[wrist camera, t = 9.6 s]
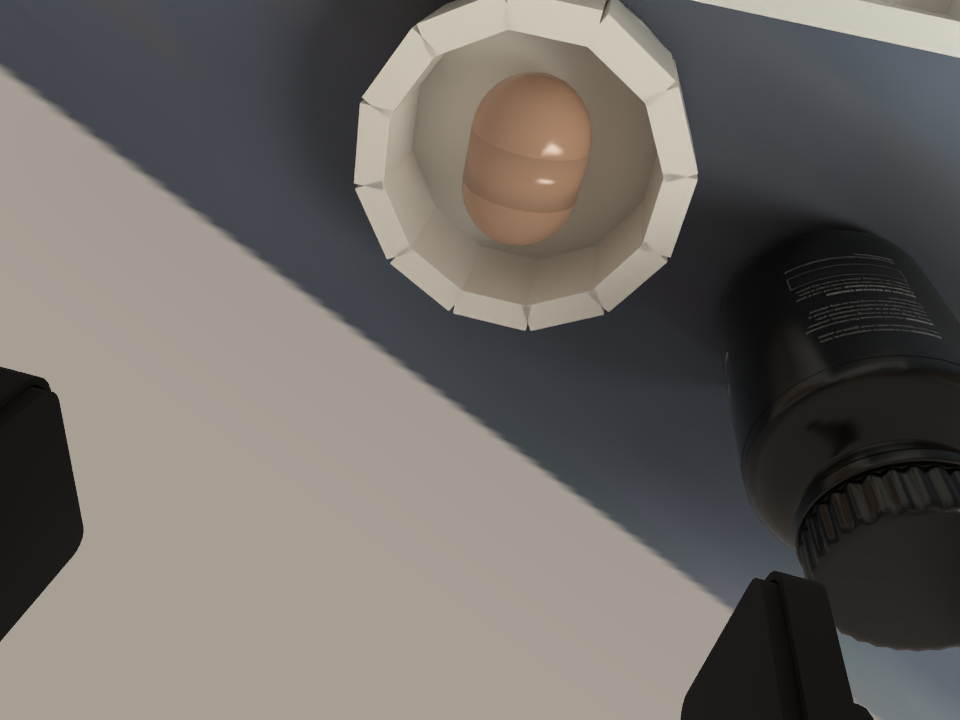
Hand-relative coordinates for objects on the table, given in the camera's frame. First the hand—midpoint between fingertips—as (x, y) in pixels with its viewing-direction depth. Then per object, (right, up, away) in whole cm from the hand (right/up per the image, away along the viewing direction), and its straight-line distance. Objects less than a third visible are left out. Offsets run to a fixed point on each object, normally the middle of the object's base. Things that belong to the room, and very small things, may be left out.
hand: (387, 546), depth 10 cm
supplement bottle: (+13, +4, +16) cm, 21 cm away
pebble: (+3, +9, +14) cm, 17 cm away
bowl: (+3, +10, +15) cm, 18 cm away
